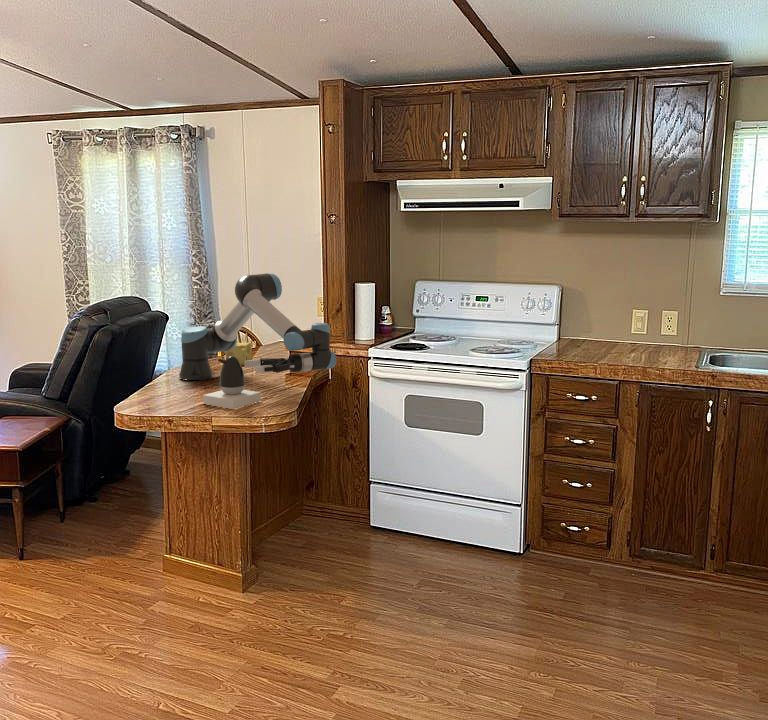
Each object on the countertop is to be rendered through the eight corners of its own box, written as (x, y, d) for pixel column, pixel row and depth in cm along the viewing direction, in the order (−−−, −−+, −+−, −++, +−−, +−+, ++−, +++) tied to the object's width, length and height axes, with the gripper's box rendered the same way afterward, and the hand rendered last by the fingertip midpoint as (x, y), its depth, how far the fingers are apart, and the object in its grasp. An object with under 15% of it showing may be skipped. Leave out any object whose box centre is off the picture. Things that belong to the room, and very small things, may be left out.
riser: (203, 404, 318) (203, 395, 317) (231, 397, 331) (230, 387, 331) (233, 410, 310) (233, 399, 309) (260, 401, 323) (260, 392, 322)
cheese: (244, 365, 403) (244, 345, 401) (224, 364, 405) (224, 344, 403) (252, 361, 413) (251, 342, 411) (232, 360, 415) (232, 341, 413)
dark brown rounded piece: (217, 392, 323) (215, 354, 320) (243, 390, 326) (241, 353, 324) (221, 397, 313) (220, 359, 311) (247, 395, 317) (246, 357, 314)
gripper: (311, 376, 321) (260, 381, 311) (288, 366, 343) (241, 370, 333) (311, 358, 320) (260, 362, 310) (288, 349, 341) (240, 353, 332)
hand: (250, 367), depth 321 cm, fingers open, 13 cm apart
